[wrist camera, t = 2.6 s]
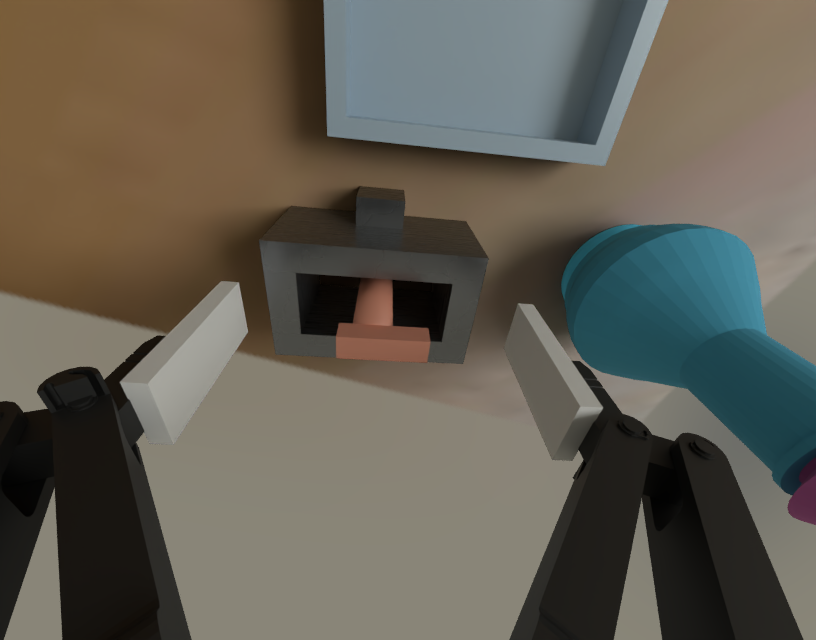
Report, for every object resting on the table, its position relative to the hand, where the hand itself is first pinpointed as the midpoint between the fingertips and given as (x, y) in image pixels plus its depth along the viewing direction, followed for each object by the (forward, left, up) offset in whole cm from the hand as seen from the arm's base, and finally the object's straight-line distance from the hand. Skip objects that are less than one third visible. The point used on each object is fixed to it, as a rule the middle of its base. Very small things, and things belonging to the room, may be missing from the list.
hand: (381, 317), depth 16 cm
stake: (0, 0, -6) cm, 6 cm away
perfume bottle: (+15, +1, -6) cm, 16 cm away
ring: (0, 0, -6) cm, 6 cm away
